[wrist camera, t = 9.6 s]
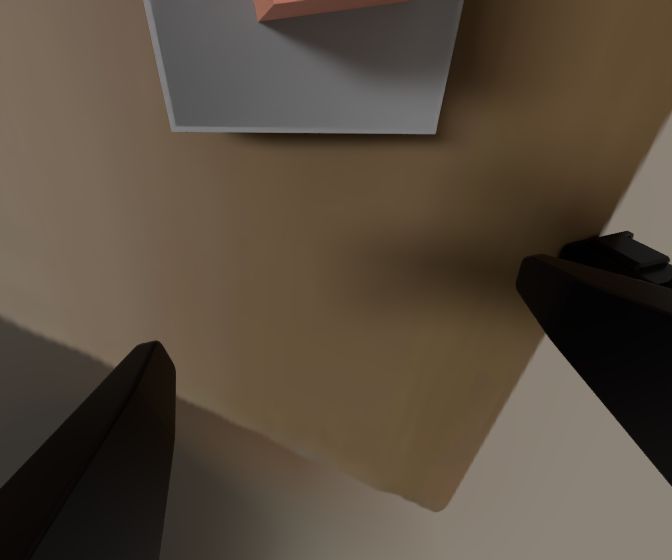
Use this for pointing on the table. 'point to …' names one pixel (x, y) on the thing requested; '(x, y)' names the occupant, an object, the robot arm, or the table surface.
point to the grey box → (303, 67)
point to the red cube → (309, 7)
